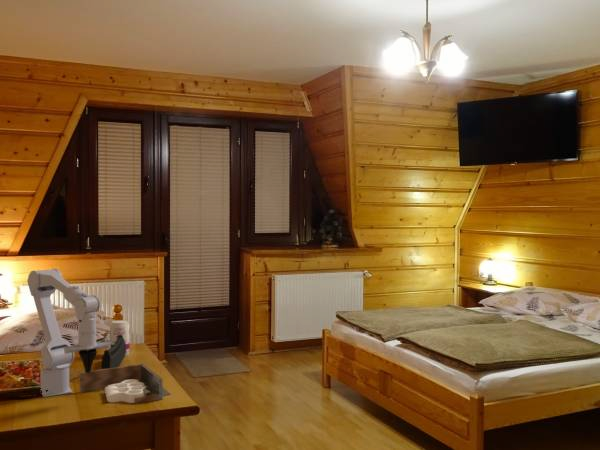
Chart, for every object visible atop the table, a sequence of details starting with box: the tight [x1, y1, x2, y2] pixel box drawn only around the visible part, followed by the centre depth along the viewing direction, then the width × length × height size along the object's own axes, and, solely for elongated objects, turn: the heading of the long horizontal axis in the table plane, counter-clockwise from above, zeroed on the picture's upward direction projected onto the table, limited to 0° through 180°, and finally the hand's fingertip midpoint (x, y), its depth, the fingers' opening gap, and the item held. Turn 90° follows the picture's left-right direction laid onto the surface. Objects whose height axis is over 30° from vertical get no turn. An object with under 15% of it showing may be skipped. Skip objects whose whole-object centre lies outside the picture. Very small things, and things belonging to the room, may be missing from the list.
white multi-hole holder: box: [104, 379, 151, 404], centre depth 205 cm, size 3×18×15 cm
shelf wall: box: [79, 363, 159, 405], centre depth 204 cm, size 23×23×7 cm
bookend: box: [139, 363, 172, 401], centre depth 211 cm, size 5×23×7 cm, turn 31°
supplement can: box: [109, 319, 131, 357], centre depth 260 cm, size 8×8×15 cm
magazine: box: [100, 335, 126, 370], centre depth 239 cm, size 17×3×30 cm
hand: (87, 371), depth 199 cm, fingers closed
